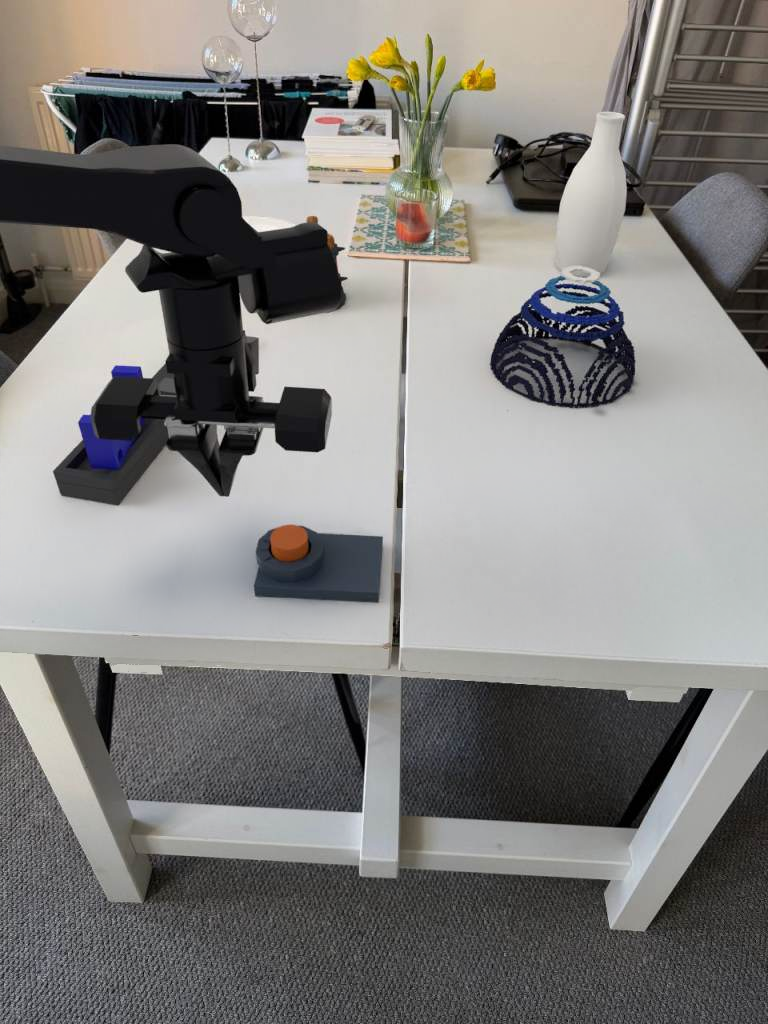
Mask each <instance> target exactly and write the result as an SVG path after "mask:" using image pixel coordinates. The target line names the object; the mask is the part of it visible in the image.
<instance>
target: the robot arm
mask: <svg viewBox="0 0 768 1024" xmlns="http://www.w3.org/2000/svg"><path fill="white" fill-rule="evenodd" d="M242 204H243V202H242V200H241V196H240V194H239V190H238V188H237V187H236V186H235V184H234V183H233V181H232V180H231V179H230V177H229V176H227V174H225V173H224V172H223V171H221V170H220V169H219V168H217V167H216V166H215V165H213V164H212V162H210V161H208V160H207V159H206V158H205V157H204V156H202V155H201V154H199V153H198V152H197V151H195V150H193V149H192V148H190V147H187V146H185V145H181V144H176V143H175V144H172V143H171V144H170V143H169V144H167V143H166V144H152V145H151V144H149V145H138V146H137V145H136V146H124V147H121V148H116V149H112V150H108V151H104V152H97V153H84V154H83V153H81V154H80V153H71V152H62V151H54V150H45V149H35V148H28V147H20V146H11V145H2V144H0V223H1V224H15V225H30V226H44V227H45V226H46V227H59V228H60V227H61V228H72V229H73V228H74V229H88V230H89V229H90V230H95V231H96V230H97V231H102V232H104V233H109V234H113V235H115V236H119V237H121V238H124V239H127V240H130V241H132V242H135V243H138V244H141V245H142V247H141V249H140V252H139V253H138V254H137V255H136V256H135V257H134V258H133V259H132V260H131V261H130V262H129V263H128V264H127V265H126V266H125V269H124V272H125V274H126V275H127V277H128V278H129V279H130V281H131V282H132V283H133V285H134V286H135V288H136V289H137V291H138V292H140V293H142V294H143V293H144V294H145V293H151V292H155V291H158V293H159V299H160V300H159V301H160V306H161V312H162V318H163V324H164V329H165V336H166V343H167V348H168V355H167V357H166V359H165V363H166V368H167V373H172V374H173V379H174V385H175V391H176V396H170V395H160V394H161V392H160V386H159V382H157V381H156V380H155V379H152V377H151V378H150V377H143V378H136V377H119V376H114V377H113V378H112V377H111V379H110V380H109V381H108V383H107V384H106V386H105V387H104V388H103V390H102V391H101V392H100V395H98V397H97V399H96V400H95V401H94V403H93V405H92V406H91V409H90V415H91V422H92V426H93V430H94V434H95V435H96V436H97V437H98V438H99V439H107V440H123V441H131V440H132V439H133V438H135V437H136V436H137V435H138V434H139V432H140V430H141V427H140V422H139V419H140V418H142V419H158V420H165V421H164V424H165V426H166V427H167V429H168V435H169V438H168V440H167V442H166V445H165V447H166V449H167V450H168V451H171V452H177V453H179V454H180V455H181V456H182V457H183V458H184V459H185V460H186V461H188V462H189V463H190V465H191V466H192V467H194V468H195V469H196V470H197V471H198V473H199V474H200V475H201V476H202V477H203V478H204V479H205V480H206V482H207V483H208V484H209V485H210V486H211V488H212V489H213V490H214V491H215V492H216V493H217V495H218V496H219V497H226V498H229V497H230V495H231V491H232V489H233V485H234V481H235V477H236V473H237V470H238V466H239V464H240V462H241V460H242V458H243V457H244V456H247V457H248V456H252V455H254V454H256V452H257V450H258V446H259V443H260V440H261V437H262V434H263V432H264V429H274V441H275V443H276V444H277V445H278V446H280V447H281V448H282V449H283V450H284V451H286V452H287V451H288V452H301V453H302V452H304V453H320V452H322V451H324V450H326V446H327V442H328V437H329V432H330V427H331V421H332V415H333V405H332V404H333V403H332V402H333V401H332V400H333V399H332V396H331V394H329V392H328V391H327V390H326V389H325V388H316V387H315V388H314V387H299V386H284V387H283V389H282V392H281V393H282V394H281V397H280V400H279V402H271V401H264V397H263V396H255V395H250V392H255V390H256V387H257V375H259V374H260V343H259V342H260V339H259V337H256V336H250V335H249V336H248V335H246V330H245V329H244V327H243V315H242V304H243V306H244V308H245V309H246V311H247V312H248V313H249V314H257V316H258V318H259V319H260V321H262V322H263V323H264V324H266V325H270V324H276V323H280V322H286V321H290V320H297V319H301V318H307V317H310V316H316V315H320V314H326V313H331V312H335V311H337V310H338V309H337V307H338V305H339V303H340V299H341V291H342V287H343V285H341V282H342V281H341V279H340V277H338V273H339V270H338V271H337V267H336V263H335V260H334V257H333V254H332V252H331V250H330V248H329V246H328V234H329V233H328V230H327V229H326V228H324V227H323V226H322V225H320V224H319V222H318V223H316V222H315V221H314V222H307V221H306V222H301V223H299V224H295V225H296V226H294V227H290V228H284V229H277V230H271V231H264V232H257V231H256V230H255V229H254V228H253V227H252V226H250V225H249V224H248V223H247V222H246V221H245V220H244V219H243V218H242V217H243V207H242V206H243V205H242ZM156 249H157V250H161V251H164V252H160V251H157V250H156ZM217 254H218V255H217ZM241 301H242V304H241ZM336 309H337V310H336ZM165 363H164V364H165ZM218 426H223V430H224V434H223V437H222V438H221V442H219V438H218Z"/></svg>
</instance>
